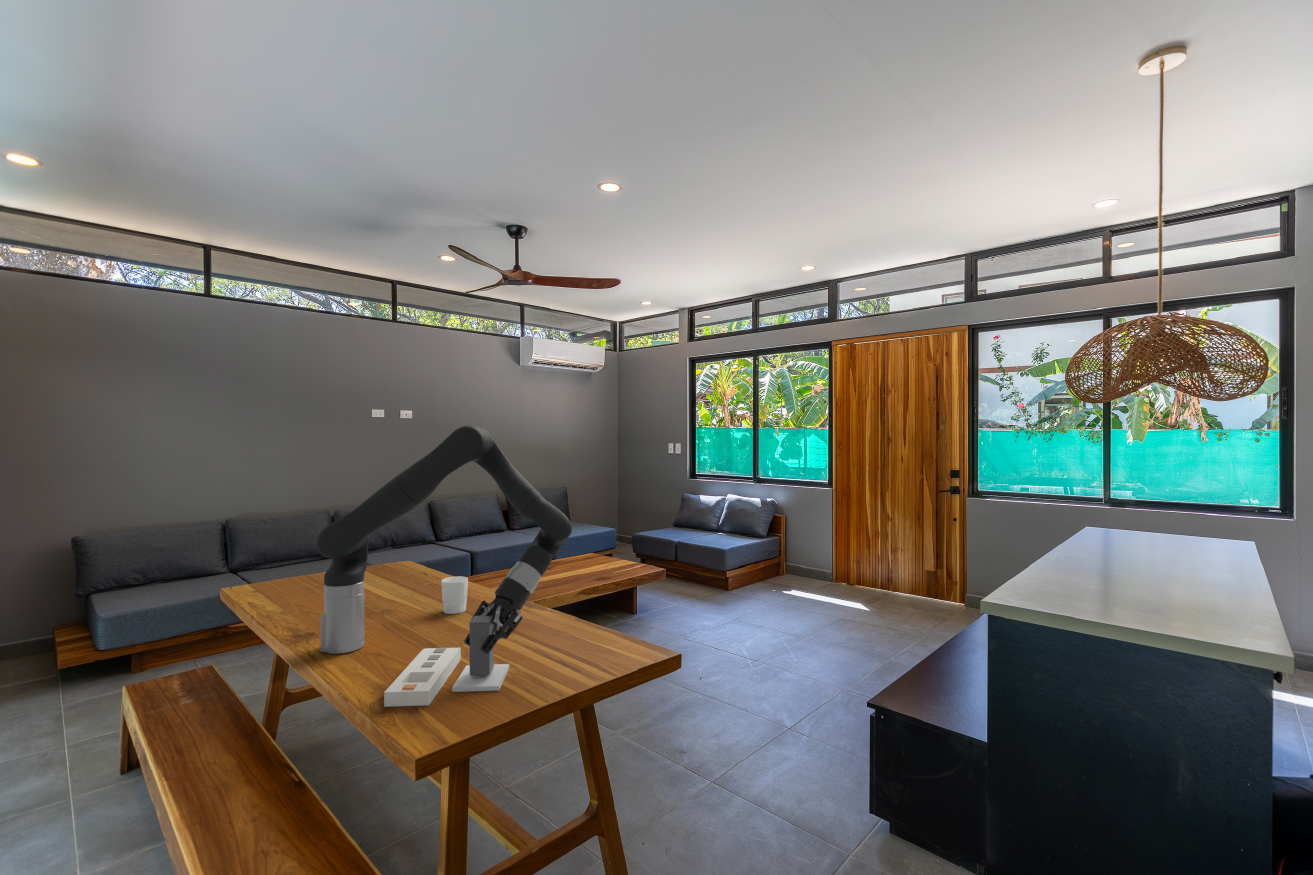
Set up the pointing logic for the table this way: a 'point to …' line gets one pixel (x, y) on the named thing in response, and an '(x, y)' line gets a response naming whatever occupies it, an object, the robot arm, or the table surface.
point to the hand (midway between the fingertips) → (475, 647)
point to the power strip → (422, 677)
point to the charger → (478, 635)
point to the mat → (481, 680)
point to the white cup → (454, 594)
